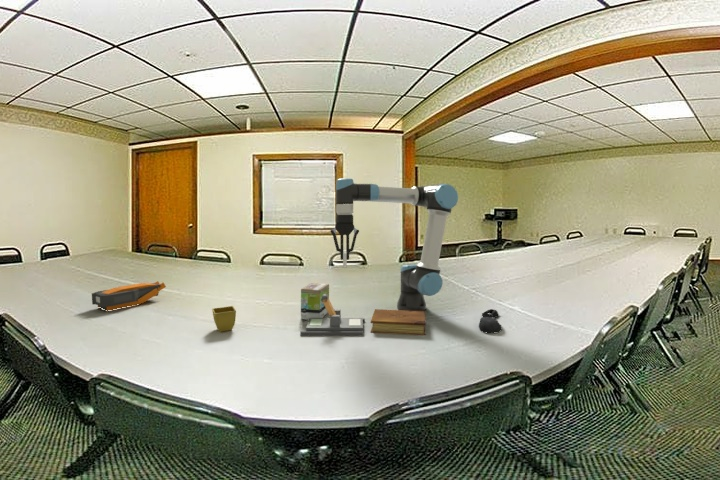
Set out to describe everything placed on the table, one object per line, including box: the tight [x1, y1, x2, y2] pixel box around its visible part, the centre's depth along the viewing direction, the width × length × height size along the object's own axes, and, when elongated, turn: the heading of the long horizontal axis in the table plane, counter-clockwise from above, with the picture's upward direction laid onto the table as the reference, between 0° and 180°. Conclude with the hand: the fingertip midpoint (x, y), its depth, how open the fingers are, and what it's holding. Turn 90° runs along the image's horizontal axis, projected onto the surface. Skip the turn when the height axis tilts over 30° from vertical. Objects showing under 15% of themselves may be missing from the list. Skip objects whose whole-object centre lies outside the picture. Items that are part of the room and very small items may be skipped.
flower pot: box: [211, 305, 237, 333], centre depth 163 cm, size 9×9×9 cm
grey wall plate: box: [299, 317, 366, 337], centre depth 165 cm, size 27×19×1 cm
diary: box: [370, 308, 426, 336], centre depth 167 cm, size 23×19×6 cm
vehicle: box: [91, 281, 167, 312], centre depth 204 cm, size 14×34×10 cm, turn 147°
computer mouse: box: [478, 308, 503, 334], centre depth 173 cm, size 10×32×6 cm, turn 160°
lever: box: [321, 294, 336, 317], centre depth 164 cm, size 3×6×13 cm, turn 179°
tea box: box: [300, 282, 330, 321], centre depth 183 cm, size 15×10×15 cm
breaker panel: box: [305, 308, 364, 332], centre depth 165 cm, size 24×14×7 cm, turn 90°
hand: (344, 266), depth 168 cm, fingers closed
